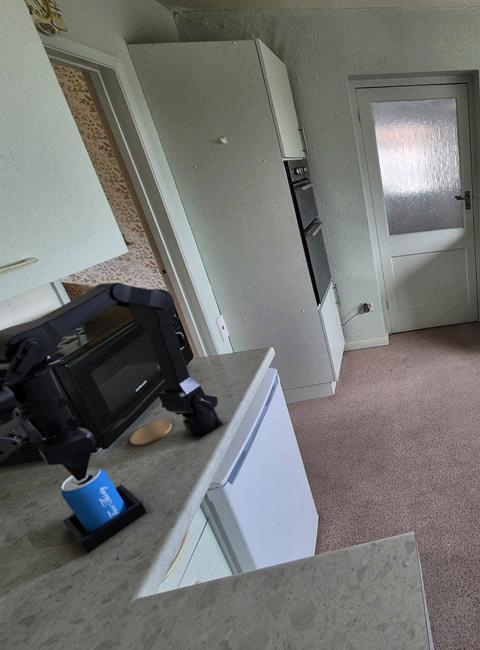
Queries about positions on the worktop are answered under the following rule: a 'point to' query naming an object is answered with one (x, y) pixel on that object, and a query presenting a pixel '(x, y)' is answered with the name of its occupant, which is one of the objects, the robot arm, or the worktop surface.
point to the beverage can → (93, 499)
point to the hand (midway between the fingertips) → (73, 470)
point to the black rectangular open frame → (111, 526)
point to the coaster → (150, 433)
